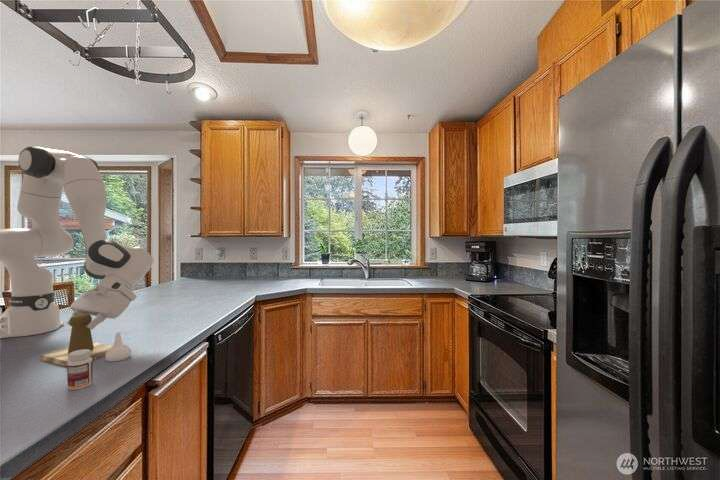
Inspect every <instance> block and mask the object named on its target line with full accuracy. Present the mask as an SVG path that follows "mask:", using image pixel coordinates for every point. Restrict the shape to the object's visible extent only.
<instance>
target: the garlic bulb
mask: <svg viewBox="0 0 720 480" xmlns="http://www.w3.org/2000/svg"><path fill="white" fill-rule="evenodd" d="M112 346H113V347H111V348H110V349H108V350H107V352H106V354H105V356H104V357H105V360H106V361H107V362H111V363H113V362H114V361H115V362H120V361H123V360H126V359H128V358H130V356H131V355H132V348H131V347H130V346H128V345H127V344H124V343H123V339H122V336H121V332H120V331H117V332H116V333H115V337H114V343H113V345H112Z"/></svg>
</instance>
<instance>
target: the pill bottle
mask: <svg viewBox="0 0 720 480" xmlns="http://www.w3.org/2000/svg"><path fill="white" fill-rule="evenodd" d="M90 356H91V352H90V350H89V349H82V350H77V351H73V352H71V353H70V354H69V360H70V361H69V362H68V363H67V367H66V371H67V373H66V374H67V376H66V378H67V390H69V391H70V390H71V391H77V390H81V389H85V388H87V387H89V386H91V385H92V384H93V382H94V379H93V377H94V376H93V375H94V373H93V370H94V369H93V367H94V365H93V360H92V358H91V357H90Z"/></svg>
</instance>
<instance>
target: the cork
mask: <svg viewBox="0 0 720 480" xmlns="http://www.w3.org/2000/svg"><path fill="white" fill-rule="evenodd" d="M71 316H72V315H71ZM71 316H70V318H69V320H70V321H69V320H68V321H69V323H70V325H71V326H70V325H69V326H70V327H71V330H70V331H71V332H70V336H69V338H70V339H69V343H68V347H69V349H68V354H70V353H71V352H73V351H77V350H82V349H89V350H90V351H91V350H93V349H94V346H93V342H94V341H93V337H92V336H93V335H92V331H91V330H92V329H88V328H86V325H87V324H88V322H89V321H92V320H93V317H92V315H89V314H79V315H75V316H72V317H71Z"/></svg>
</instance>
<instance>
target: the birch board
mask: <svg viewBox="0 0 720 480" xmlns="http://www.w3.org/2000/svg"><path fill="white" fill-rule="evenodd" d="M93 346H94V349H93V350H91V351H90V352H91V356H90V357H91V358H92V359H93V360H96V359H99V358H103V357H105V354H106V352H107V350H108V349H110V348H111V347H113V345H111V344H105V343H101V342H96V341H93ZM68 349H69V346H68V347H65V348H61V349H57V350H53V351H49V352H45V353H41V354H40V360H41V361H44V362H48V363H52V364H55V365H59V364H60V365H59V366H62V365H64V367H66V366H67V363H68V362H69V361H70V360H69V354H68ZM102 356H103V357H102ZM95 358H96V359H95Z"/></svg>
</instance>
